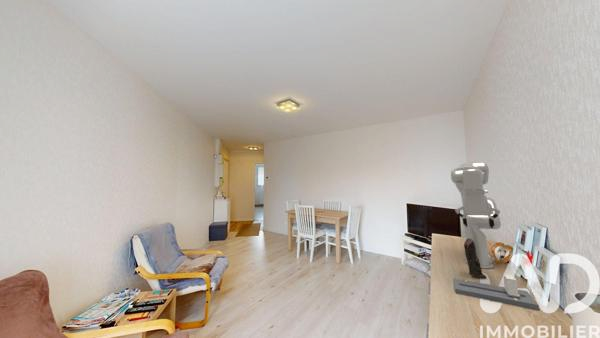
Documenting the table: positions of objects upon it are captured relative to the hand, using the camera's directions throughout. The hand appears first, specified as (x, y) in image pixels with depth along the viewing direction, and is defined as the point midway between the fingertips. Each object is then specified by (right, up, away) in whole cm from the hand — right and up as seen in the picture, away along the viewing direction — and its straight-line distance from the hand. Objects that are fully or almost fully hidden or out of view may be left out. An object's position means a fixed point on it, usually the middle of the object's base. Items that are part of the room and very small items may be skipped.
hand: (478, 226), depth 100 cm
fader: (+1, -24, -14) cm, 29 cm away
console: (-4, -28, -11) cm, 30 cm away
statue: (+5, -29, +7) cm, 30 cm away
